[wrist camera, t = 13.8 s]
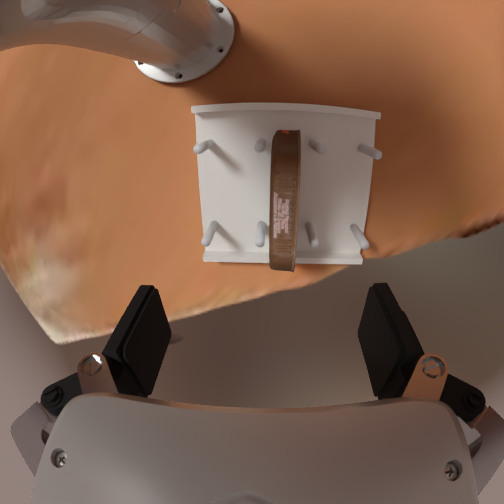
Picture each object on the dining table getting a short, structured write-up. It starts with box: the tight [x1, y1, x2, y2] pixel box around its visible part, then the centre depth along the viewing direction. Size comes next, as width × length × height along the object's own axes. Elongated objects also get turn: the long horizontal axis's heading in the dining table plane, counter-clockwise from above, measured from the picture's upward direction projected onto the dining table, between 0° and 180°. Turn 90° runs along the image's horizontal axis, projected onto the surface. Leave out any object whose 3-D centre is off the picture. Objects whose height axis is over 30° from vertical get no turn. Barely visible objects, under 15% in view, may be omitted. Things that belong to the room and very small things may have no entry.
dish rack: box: [191, 103, 382, 264], centre depth 29 cm, size 19×20×6 cm
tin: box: [269, 129, 301, 272], centre depth 27 cm, size 15×3×8 cm, turn 0°
